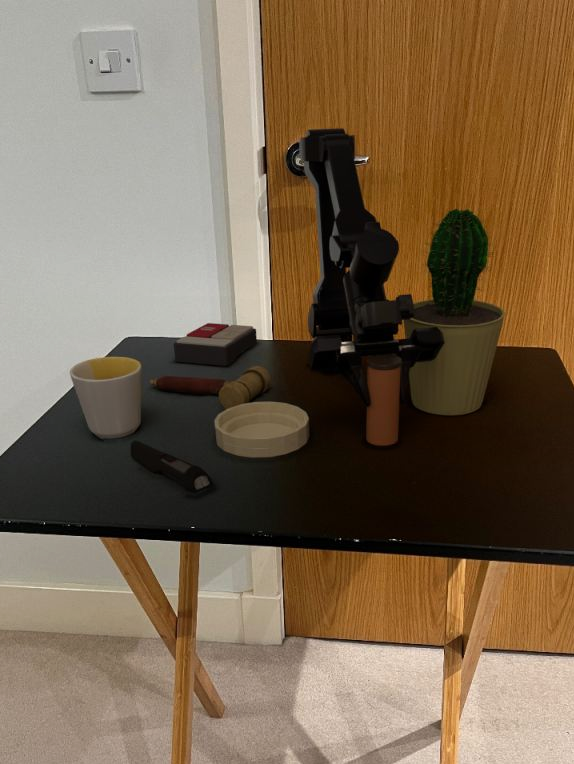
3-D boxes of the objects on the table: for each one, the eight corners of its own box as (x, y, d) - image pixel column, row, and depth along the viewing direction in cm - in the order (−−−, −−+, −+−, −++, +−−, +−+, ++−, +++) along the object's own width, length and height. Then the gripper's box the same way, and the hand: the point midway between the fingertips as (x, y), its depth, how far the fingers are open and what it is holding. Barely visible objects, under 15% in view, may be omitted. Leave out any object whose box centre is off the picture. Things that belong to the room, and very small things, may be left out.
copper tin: (374, 433, 113) (375, 352, 107) (403, 439, 111) (407, 356, 105) (359, 445, 110) (360, 362, 104) (390, 451, 108) (393, 367, 101)
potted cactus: (384, 411, 120) (390, 210, 105) (417, 380, 132) (427, 195, 117) (479, 427, 114) (500, 216, 99) (505, 393, 126) (528, 199, 111)
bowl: (280, 415, 120) (279, 395, 118) (326, 446, 110) (326, 424, 108) (201, 435, 114) (199, 413, 113) (241, 470, 104) (240, 447, 102)
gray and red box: (256, 324, 151) (226, 343, 139) (257, 346, 153) (227, 366, 141) (206, 321, 154) (172, 339, 142) (208, 342, 156) (174, 361, 144)
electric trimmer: (148, 455, 109) (144, 435, 108) (216, 488, 100) (213, 466, 98) (126, 464, 107) (122, 443, 106) (193, 498, 97) (190, 476, 96)
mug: (120, 452, 110) (109, 383, 105) (67, 439, 114) (54, 373, 109) (176, 418, 120) (169, 354, 115) (126, 408, 125) (116, 346, 119)
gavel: (131, 379, 127) (163, 360, 135) (136, 405, 129) (168, 385, 137) (241, 386, 119) (269, 366, 126) (245, 413, 121) (272, 392, 129)
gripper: (310, 278, 101) (328, 385, 97) (444, 269, 104) (467, 373, 100) (302, 320, 112) (317, 418, 108) (423, 311, 114) (443, 406, 110)
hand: (385, 404), depth 106 cm, fingers closed on copper tin, 4 cm apart
